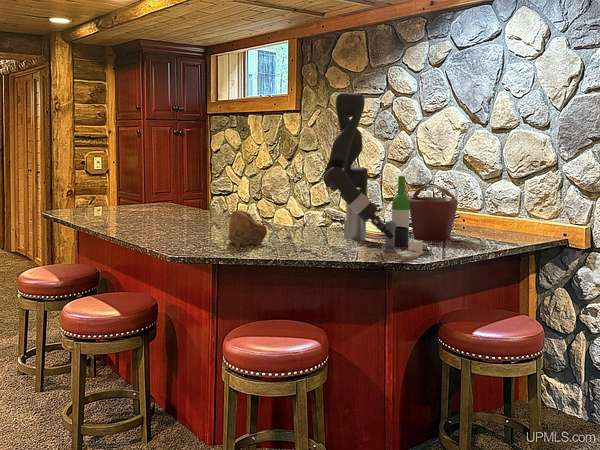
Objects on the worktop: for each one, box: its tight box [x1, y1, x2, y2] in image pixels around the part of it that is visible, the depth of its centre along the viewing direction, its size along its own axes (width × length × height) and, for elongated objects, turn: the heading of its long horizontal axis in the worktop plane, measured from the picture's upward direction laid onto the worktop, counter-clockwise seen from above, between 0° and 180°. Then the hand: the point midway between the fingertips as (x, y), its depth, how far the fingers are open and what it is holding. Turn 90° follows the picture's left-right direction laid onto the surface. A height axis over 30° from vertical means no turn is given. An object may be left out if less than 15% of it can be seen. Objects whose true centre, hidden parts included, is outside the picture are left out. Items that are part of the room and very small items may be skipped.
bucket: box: [408, 184, 458, 242], centre depth 306 cm, size 24×22×25 cm
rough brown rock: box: [227, 209, 268, 247], centre depth 285 cm, size 23×17×15 cm
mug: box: [394, 226, 409, 248], centre depth 278 cm, size 9×12×9 cm
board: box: [349, 246, 420, 262], centre depth 262 cm, size 27×11×2 cm, turn 57°
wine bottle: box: [391, 175, 410, 242], centre depth 289 cm, size 8×8×30 cm
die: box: [407, 239, 424, 256], centre depth 267 cm, size 5×5×5 cm
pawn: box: [382, 219, 397, 254], centre depth 260 cm, size 5×5×13 cm
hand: (391, 236), depth 260 cm, fingers open, 8 cm apart
